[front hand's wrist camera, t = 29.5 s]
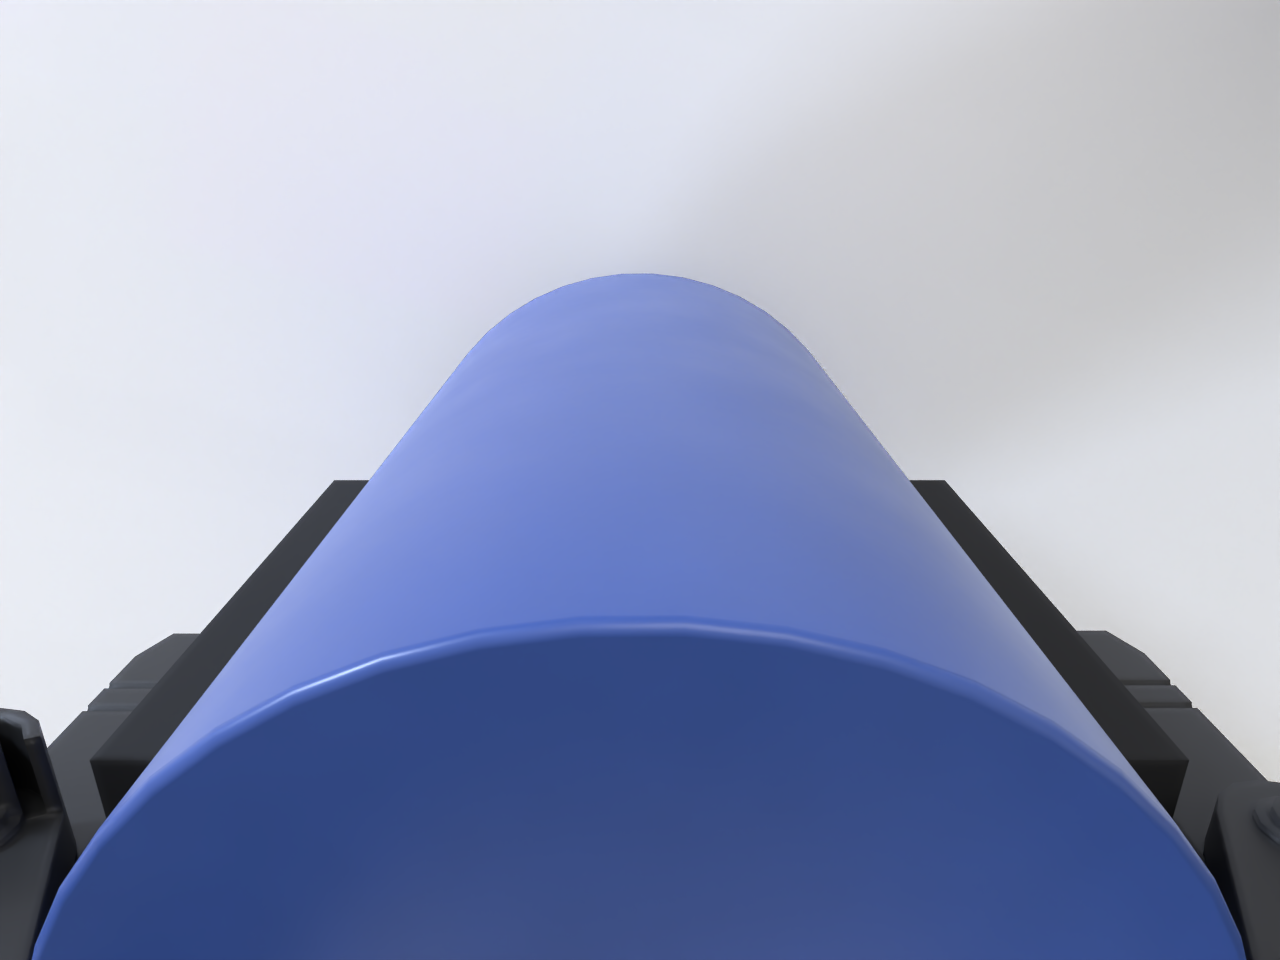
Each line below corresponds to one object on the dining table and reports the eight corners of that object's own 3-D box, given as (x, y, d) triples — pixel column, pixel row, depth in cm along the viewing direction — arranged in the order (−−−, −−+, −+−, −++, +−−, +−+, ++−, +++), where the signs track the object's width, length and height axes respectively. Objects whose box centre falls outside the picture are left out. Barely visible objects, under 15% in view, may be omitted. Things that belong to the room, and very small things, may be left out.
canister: (727, 721, 18) (849, 1537, 8) (368, 575, 17) (-83, 1310, 6) (934, 392, 16) (1554, 941, 5) (527, 190, 15) (212, 355, 4)
